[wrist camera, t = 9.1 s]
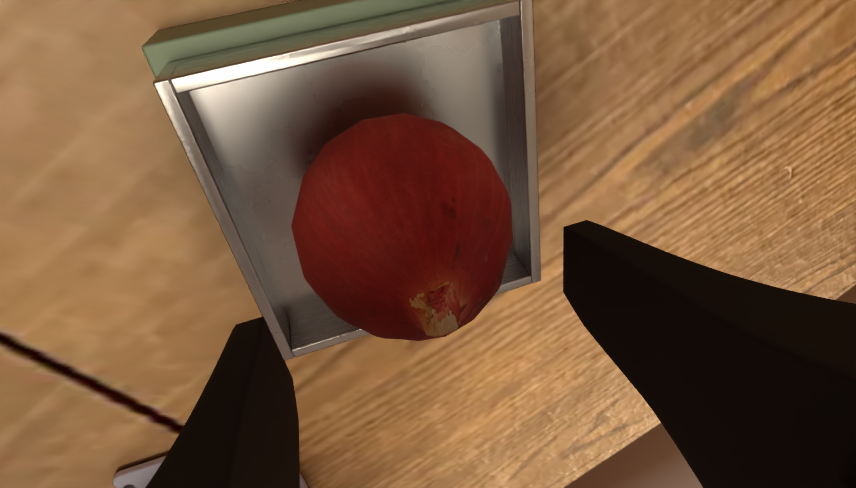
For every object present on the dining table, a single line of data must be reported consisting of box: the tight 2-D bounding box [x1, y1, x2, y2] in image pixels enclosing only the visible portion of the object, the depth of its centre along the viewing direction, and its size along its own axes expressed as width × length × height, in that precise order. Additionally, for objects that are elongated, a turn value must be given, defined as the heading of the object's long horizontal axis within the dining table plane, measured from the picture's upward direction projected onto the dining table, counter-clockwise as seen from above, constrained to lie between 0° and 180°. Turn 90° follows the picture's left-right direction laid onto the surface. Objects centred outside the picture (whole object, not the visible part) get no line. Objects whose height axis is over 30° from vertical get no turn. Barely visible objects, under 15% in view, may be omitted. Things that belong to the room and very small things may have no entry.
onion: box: [291, 113, 513, 341], centre depth 13 cm, size 6×6×8 cm
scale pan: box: [153, 0, 541, 361], centre depth 16 cm, size 10×10×2 cm
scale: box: [142, 0, 450, 78], centre depth 18 cm, size 11×11×2 cm
